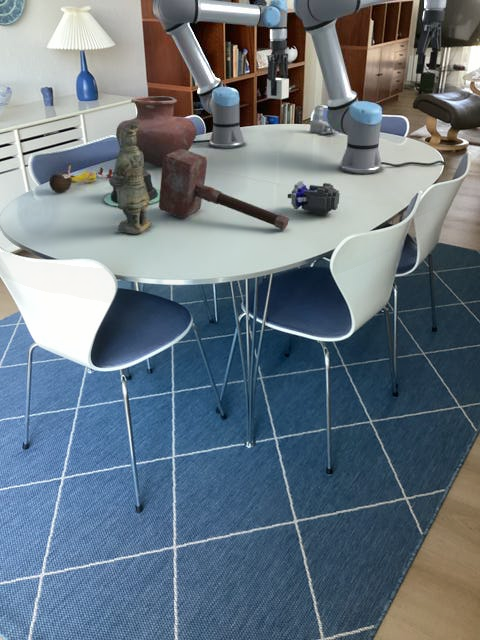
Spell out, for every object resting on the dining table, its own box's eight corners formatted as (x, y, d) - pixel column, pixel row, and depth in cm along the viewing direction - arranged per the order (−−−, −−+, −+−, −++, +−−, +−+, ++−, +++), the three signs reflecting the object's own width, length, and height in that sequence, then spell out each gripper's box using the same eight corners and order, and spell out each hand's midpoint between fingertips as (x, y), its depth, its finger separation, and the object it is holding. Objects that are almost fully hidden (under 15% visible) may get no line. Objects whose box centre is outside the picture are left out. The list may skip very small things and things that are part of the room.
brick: (274, 96, 266) (274, 77, 262) (288, 97, 261) (288, 78, 257) (267, 97, 262) (267, 79, 258) (281, 99, 257) (281, 80, 253)
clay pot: (204, 155, 234) (201, 91, 222) (186, 175, 209) (181, 105, 196) (136, 153, 239) (129, 91, 227) (109, 172, 214) (100, 104, 201)
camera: (318, 104, 267) (345, 108, 259) (317, 129, 274) (342, 134, 265) (308, 106, 262) (334, 110, 253) (306, 132, 268) (332, 137, 259)
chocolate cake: (91, 202, 180) (113, 186, 197) (142, 231, 182) (160, 212, 199) (107, 162, 172) (129, 148, 190) (160, 192, 174) (177, 176, 192)
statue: (131, 220, 168) (117, 116, 152) (158, 224, 164) (147, 118, 149) (109, 233, 159) (93, 124, 144) (138, 237, 156) (124, 126, 140)
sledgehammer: (299, 190, 156) (179, 147, 167) (285, 200, 148) (161, 154, 160) (286, 244, 166) (174, 200, 177) (272, 256, 158) (156, 209, 170)
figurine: (118, 166, 204) (64, 174, 185) (119, 186, 207) (65, 196, 188) (93, 161, 211) (38, 168, 191) (95, 181, 214) (40, 190, 195)
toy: (295, 178, 172) (342, 184, 166) (295, 205, 177) (340, 211, 171) (285, 186, 166) (333, 192, 160) (284, 213, 170) (331, 220, 164)
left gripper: (282, 38, 258) (282, 91, 269) (259, 41, 245) (259, 96, 256) (296, 38, 254) (295, 92, 265) (273, 41, 241) (272, 98, 253)
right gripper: (435, 8, 216) (427, 67, 227) (412, 10, 199) (404, 74, 209) (455, 8, 212) (446, 68, 223) (432, 10, 195) (423, 75, 206)
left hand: (277, 94), depth 261 cm, fingers closed on brick, 6 cm apart
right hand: (425, 71), depth 216 cm, fingers open, 13 cm apart
